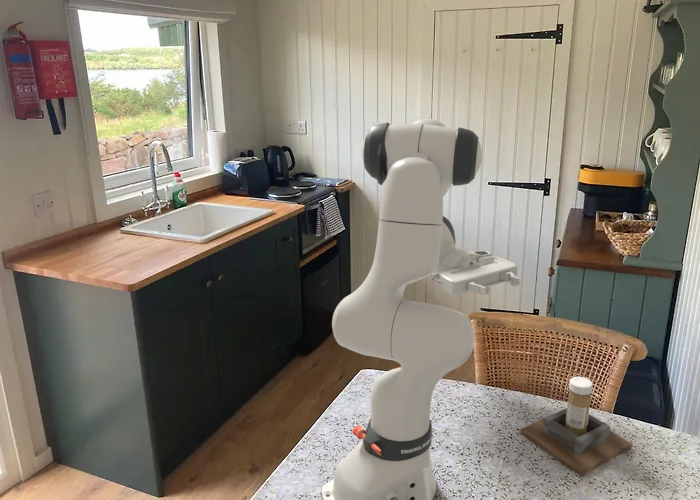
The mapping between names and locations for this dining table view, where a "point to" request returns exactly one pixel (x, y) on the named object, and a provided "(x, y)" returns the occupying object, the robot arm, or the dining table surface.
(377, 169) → the robot arm
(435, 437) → the dining table surface
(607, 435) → the socket base
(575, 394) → the sprinkles bottle
